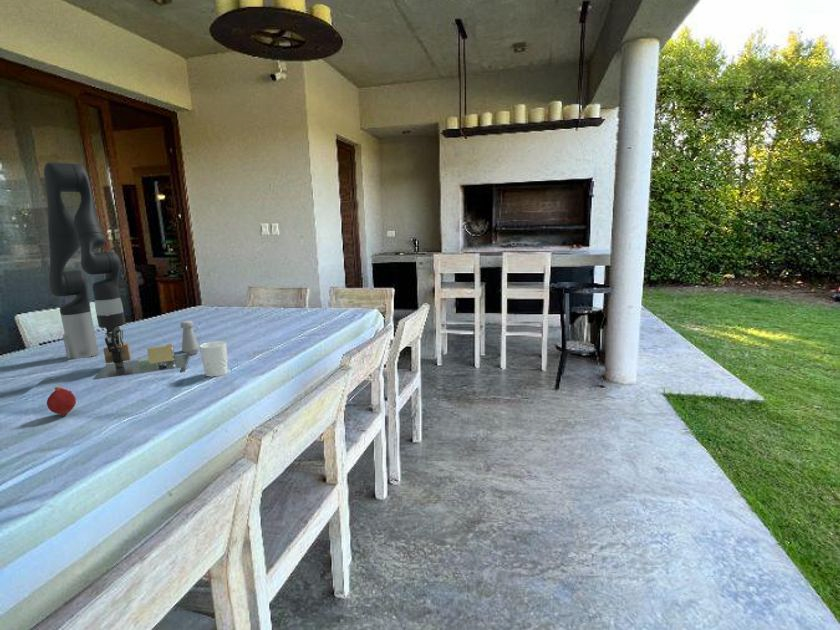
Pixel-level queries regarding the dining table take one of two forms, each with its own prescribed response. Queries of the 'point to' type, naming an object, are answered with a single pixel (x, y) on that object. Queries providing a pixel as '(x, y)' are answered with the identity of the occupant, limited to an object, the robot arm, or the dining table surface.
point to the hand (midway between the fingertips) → (118, 361)
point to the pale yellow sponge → (160, 355)
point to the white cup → (214, 358)
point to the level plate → (142, 367)
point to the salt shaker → (189, 338)
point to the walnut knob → (123, 352)
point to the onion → (61, 401)
